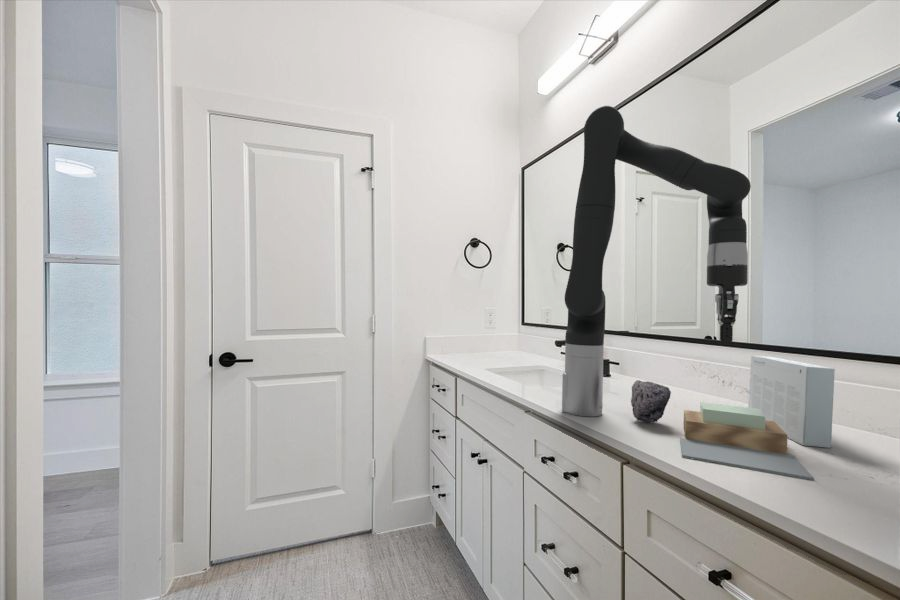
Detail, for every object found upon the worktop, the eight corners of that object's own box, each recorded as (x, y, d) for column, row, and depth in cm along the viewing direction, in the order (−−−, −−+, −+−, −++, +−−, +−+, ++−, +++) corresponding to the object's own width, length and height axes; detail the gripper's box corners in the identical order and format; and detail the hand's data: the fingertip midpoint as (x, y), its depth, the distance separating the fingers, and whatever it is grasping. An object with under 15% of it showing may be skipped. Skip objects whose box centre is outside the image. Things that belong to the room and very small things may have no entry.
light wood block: (685, 440, 80) (686, 420, 80) (683, 427, 89) (683, 409, 89) (787, 456, 73) (787, 434, 73) (773, 440, 82) (774, 421, 82)
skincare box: (835, 449, 78) (836, 368, 78) (803, 446, 79) (804, 366, 79) (771, 419, 98) (772, 355, 99) (746, 418, 99) (747, 354, 100)
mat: (682, 457, 71) (682, 454, 71) (680, 439, 81) (680, 437, 81) (814, 480, 63) (814, 477, 63) (794, 457, 72) (794, 455, 72)
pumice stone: (673, 431, 87) (674, 385, 87) (635, 427, 89) (635, 382, 89) (661, 418, 97) (662, 377, 97) (627, 415, 99) (627, 375, 99)
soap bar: (702, 421, 80) (703, 408, 80) (700, 413, 87) (700, 401, 87) (765, 429, 76) (765, 416, 76) (757, 420, 82) (757, 408, 82)
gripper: (704, 267, 97) (703, 339, 96) (709, 262, 85) (708, 343, 85) (742, 267, 93) (741, 341, 93) (753, 260, 81) (752, 345, 81)
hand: (725, 341), depth 89 cm, fingers closed
